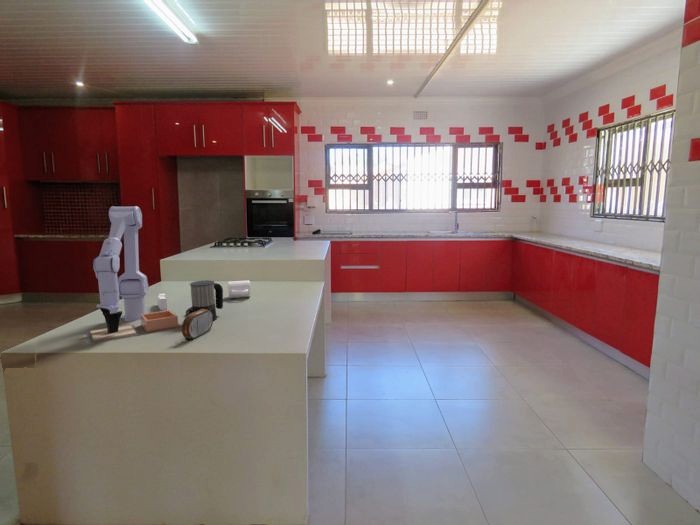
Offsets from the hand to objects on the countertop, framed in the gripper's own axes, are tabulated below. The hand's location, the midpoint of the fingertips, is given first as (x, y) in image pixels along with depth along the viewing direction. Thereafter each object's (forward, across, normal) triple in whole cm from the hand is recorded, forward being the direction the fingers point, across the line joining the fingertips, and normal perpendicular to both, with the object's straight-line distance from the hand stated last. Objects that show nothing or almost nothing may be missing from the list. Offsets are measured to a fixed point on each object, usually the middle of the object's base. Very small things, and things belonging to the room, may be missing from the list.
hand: (112, 329), depth 144 cm
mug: (+2, -26, +56) cm, 62 cm away
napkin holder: (+3, -31, +23) cm, 39 cm away
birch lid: (+2, 0, 0) cm, 2 cm away
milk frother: (+2, -4, +31) cm, 31 cm away
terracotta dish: (+2, 0, +15) cm, 15 cm away
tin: (+2, +18, +24) cm, 30 cm away
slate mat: (+2, 0, 0) cm, 2 cm away
